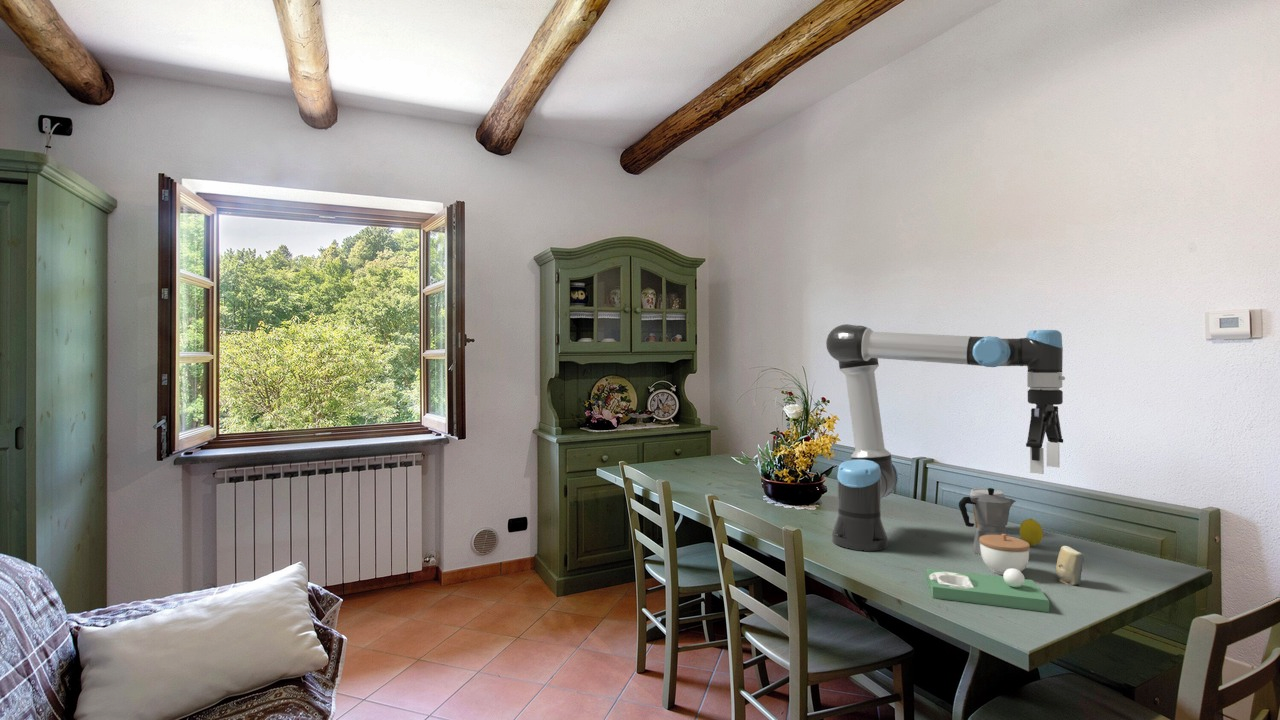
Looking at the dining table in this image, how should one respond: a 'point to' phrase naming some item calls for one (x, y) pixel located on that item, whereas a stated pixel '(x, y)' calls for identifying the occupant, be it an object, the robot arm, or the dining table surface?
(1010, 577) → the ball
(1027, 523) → the lemon
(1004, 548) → the lidded jar
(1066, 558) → the beige rounded block
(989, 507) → the coffeepot
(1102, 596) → the dining table surface
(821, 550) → the dining table surface
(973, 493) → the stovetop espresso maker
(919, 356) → the robot arm
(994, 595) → the green flat slab
